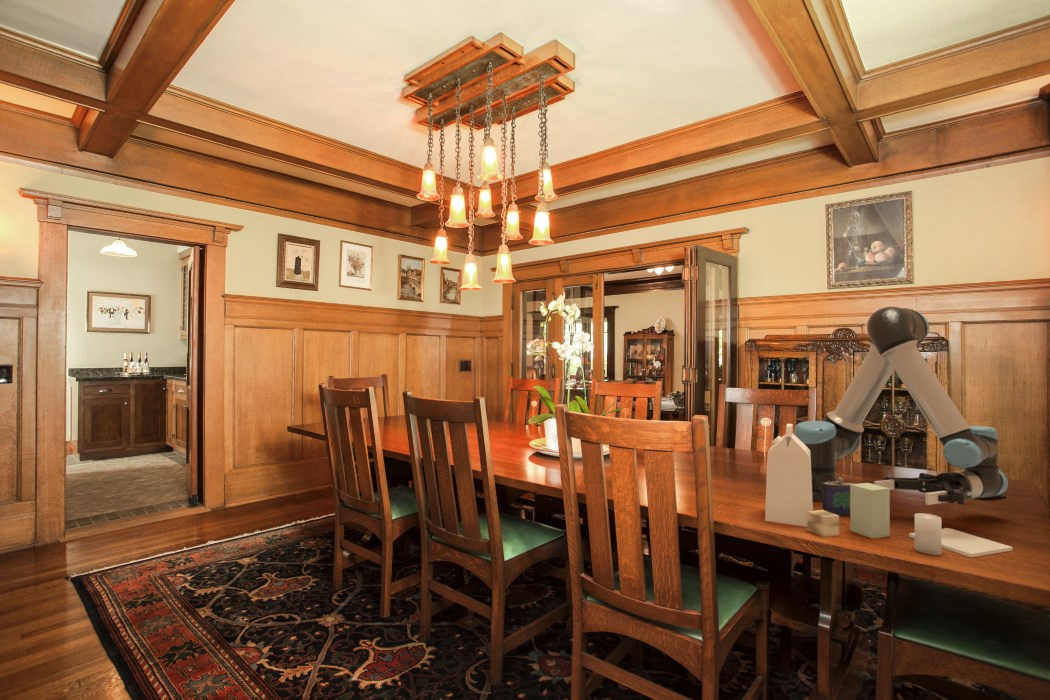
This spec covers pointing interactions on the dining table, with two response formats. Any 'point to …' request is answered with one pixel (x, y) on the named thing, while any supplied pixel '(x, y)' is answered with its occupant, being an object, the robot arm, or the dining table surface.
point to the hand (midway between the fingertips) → (899, 492)
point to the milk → (788, 481)
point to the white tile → (969, 543)
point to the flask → (836, 497)
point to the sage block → (870, 510)
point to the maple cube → (823, 523)
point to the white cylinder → (928, 534)
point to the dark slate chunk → (929, 476)
